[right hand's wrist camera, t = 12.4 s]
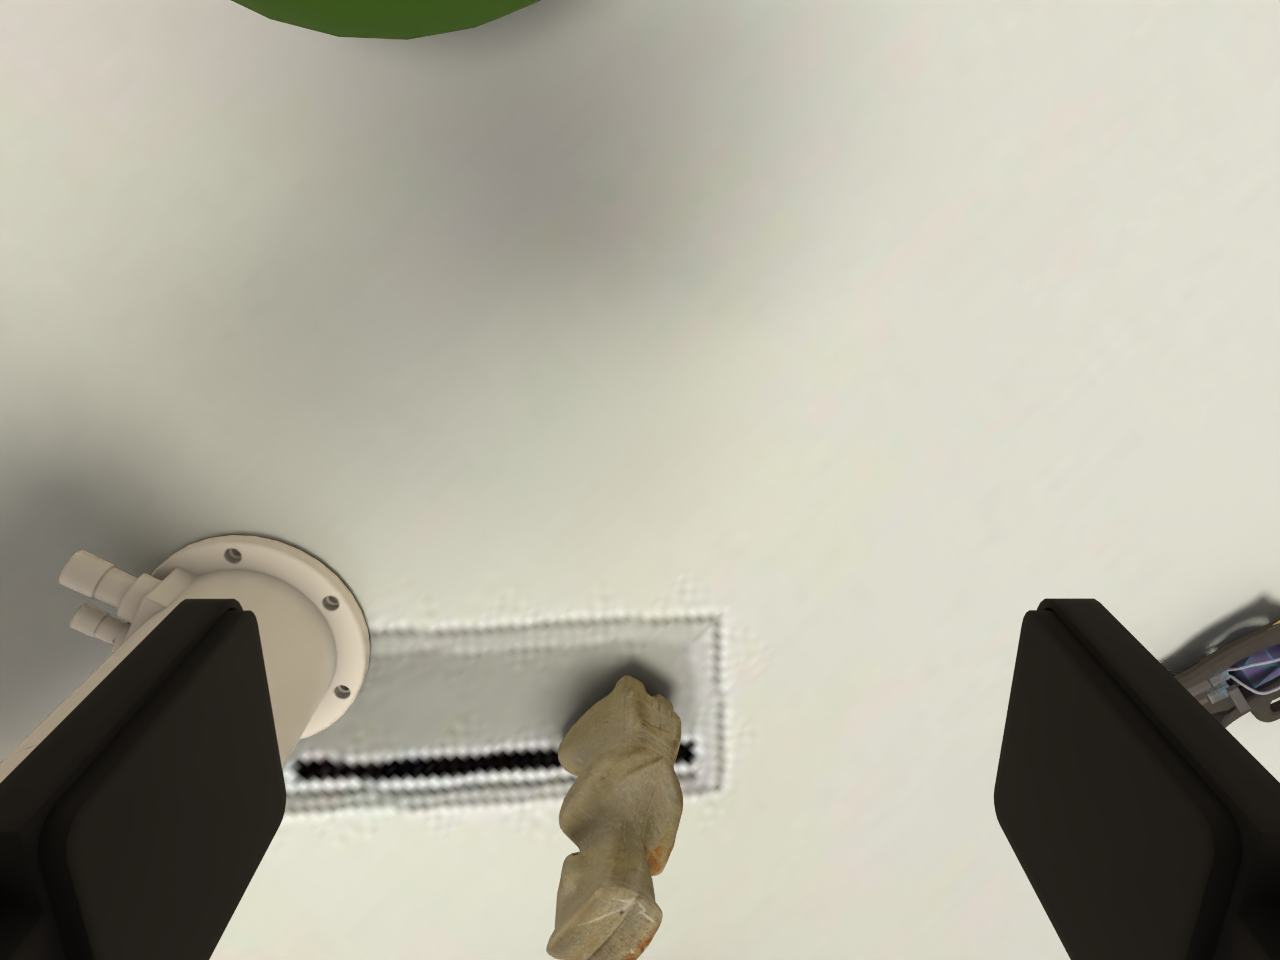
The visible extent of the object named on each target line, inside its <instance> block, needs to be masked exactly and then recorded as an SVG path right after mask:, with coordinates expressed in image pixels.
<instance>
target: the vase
mask: <svg viewBox="0 0 1280 960" xmlns="http://www.w3.org/2000/svg"><path fill="white" fill-rule="evenodd" d="M232 1H234V2H236V3H238V4H240V5H242V6H244V7H246V8H248V9H251V10H253V11H255V12H257V13H259V14H261V15H263V16H265V17H267V18H269V19H272V20H276V21H280V22H284V23H288V24H292V25H296V26H300V27H303V28H307V29H311V30H315V31H319V32H323V33H327V34H331V35H334V36H338V37H360V38H385V39H413V38H418V37H424V36H429V35H435V34H441V33H446V32H452V31H457V30H463V29H468V28H474V27H477V26H479V25H482V24H485V23H487V22H490V21H492V20H495V19H498V18H500V17H502V16H505V15H507V14H509V13H512V12H514V11H516V10H519V9H521V8H524V7H526V6H528V5H531V4H533V3H535V2H538V1H540V0H232Z"/></svg>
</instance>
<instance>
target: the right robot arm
mask: <svg viewBox="0 0 1280 960" xmlns="http://www.w3.org/2000/svg"><path fill="white" fill-rule="evenodd" d="M237 550H238V551H239V552H238V551H237ZM58 583H60V584H62V585H64V586H66V587H68V588H70V589H73V590H75V591H77V592H79V593H81V594H83V595H86V596H88V597H90V598H92V599H95V598H96V599H98V600H101V601H103V602H105V603H107V604H109V605H111V606H114V607H116V608H118V610H117V614H116V615H117V617H119V618H121V619H123V620H125V621H127V622H128V623H125V622H123V621H120V620H118V619H116V618H114V617H112V616H110V615H109V614H108V613H106V612H104V611H102V610H100V609H97V608H95V607H93V606H91V605H89V604H87V603H85V604H83V605H82V606H81V607H80V608H79V609H78V610H77V612H76V613H75V614H74V616H73V618H72V620H71V622H70V625H69V626H70V627H71V628H73V629H75V630H78V631H80V632H82V633H84V634H86V635H89V636H91V637H93V638H95V637H96V638H98V639H101V640H103V641H105V642H107V643H109V644H112V645H113V646H112V652H114V653H113V654H112V655H111V656H110V657H109V658H108V659H107V660H106V661H105V662H104V663H103V664H102V665H101V666H100V667H99V668H98V669H97V670H96V671H95V672H94V673H93V674H92V675H91V676H90V677H89V678H88V679H86V680H85V681H84V682H83V683H82V684H81V685H80V686H79V687H78V688H77V689H76V690H75V691H74V692H73V693H72V694H71V695H70V696H69V697H68V698H67V699H66V700H65V701H64V702H63V703H62V704H61V705H60V706H59V707H58V708H57V709H56V710H55V711H54V712H53V713H52V714H51V715H49V716H48V717H47V718H46V719H45V720H44V721H43V722H42V723H41V724H40V725H39V726H38V727H37V728H36V729H35V730H34V731H33V732H32V733H31V734H30V735H29V736H28V737H27V738H26V739H25V740H24V741H23V742H22V743H21V744H20V745H19V746H18V747H17V748H16V749H15V750H14V751H13V752H11V753H10V754H9V755H8V756H7V757H6V758H5V759H4V760H3V761H2V762H1V763H0V960H209V959H210V957H211V955H212V953H213V951H214V949H215V947H216V946H217V944H218V942H219V940H220V938H221V936H222V934H223V932H224V930H225V928H226V927H227V925H228V923H229V921H230V919H231V917H232V915H233V913H234V911H235V909H236V908H237V906H238V904H239V902H240V900H241V898H242V896H243V894H244V892H245V890H246V889H247V887H248V885H249V883H250V881H251V879H252V877H253V875H254V873H255V871H256V870H257V868H258V866H259V864H260V862H261V860H262V858H263V856H264V854H265V852H266V851H267V849H268V847H269V845H270V843H271V841H272V839H273V837H274V835H275V833H276V832H277V830H278V828H279V826H280V824H281V821H282V819H283V815H284V812H285V805H286V789H285V783H284V777H283V771H282V769H283V767H284V766H285V764H286V762H287V760H288V759H289V757H290V755H291V753H292V752H293V750H294V748H295V746H296V745H297V743H298V741H299V740H300V739H303V738H306V737H310V736H312V735H314V734H316V733H318V732H320V731H322V730H324V729H325V728H327V727H329V726H330V725H331V724H332V723H334V722H335V721H336V720H337V719H339V718H340V717H341V716H342V715H343V714H344V713H345V712H346V710H347V709H348V708H349V707H350V705H351V704H352V703H353V702H354V700H355V698H356V696H357V694H358V692H359V691H360V689H361V687H362V685H363V682H364V679H365V676H366V673H367V670H368V666H369V657H370V643H369V634H368V629H367V626H366V623H365V620H364V617H363V614H362V611H361V609H360V608H359V606H358V604H357V602H356V601H355V599H354V597H353V595H352V594H351V592H350V591H349V590H348V589H347V587H346V586H345V585H344V584H343V583H342V581H341V580H340V579H339V578H338V577H337V576H336V575H335V574H334V573H333V572H331V571H330V570H329V569H328V568H327V567H326V566H324V565H323V564H322V563H321V562H320V561H318V560H316V559H315V558H313V557H311V556H310V555H308V554H306V553H305V552H303V551H301V550H299V549H297V548H294V547H292V546H289V545H287V544H284V543H282V542H279V541H276V540H271V539H266V538H262V537H257V536H244V535H228V536H220V537H213V538H208V539H205V540H202V541H199V542H196V543H193V544H190V545H188V546H186V547H185V548H183V549H181V550H180V551H178V552H176V553H174V554H173V555H171V556H170V557H169V558H168V559H167V560H166V561H164V562H163V563H162V564H161V565H160V566H158V567H157V568H156V569H155V571H154V572H153V573H152V574H151V575H148V574H145V573H144V574H142V575H141V576H139V577H138V578H137V577H134V576H132V575H130V574H128V573H126V572H124V571H122V570H120V569H117V568H116V565H113V564H111V563H109V562H107V561H105V560H103V559H101V558H99V557H96V556H94V555H92V554H90V553H88V552H86V551H84V550H79V551H77V552H76V553H75V554H73V556H72V557H71V558H70V559H69V560H68V561H67V563H66V564H65V566H64V567H63V569H62V571H61V573H60V575H59V578H58ZM332 596H333V597H335V598H336V599H335V598H333V597H332ZM994 805H995V812H996V815H997V819H998V821H999V824H1000V826H1001V828H1002V830H1003V832H1004V833H1005V835H1006V837H1007V839H1008V841H1009V843H1010V845H1011V847H1012V849H1013V851H1014V852H1015V854H1016V856H1017V858H1018V860H1019V862H1020V864H1021V866H1022V868H1023V870H1024V871H1025V873H1026V875H1027V877H1028V879H1029V881H1030V883H1031V885H1032V887H1033V889H1034V890H1035V892H1036V894H1037V896H1038V898H1039V900H1040V902H1041V904H1042V906H1043V908H1044V909H1045V911H1046V913H1047V915H1048V917H1049V919H1050V921H1051V923H1052V925H1053V927H1054V928H1055V930H1056V932H1057V934H1058V936H1059V938H1060V940H1061V942H1062V944H1063V946H1064V947H1065V949H1066V951H1067V953H1068V955H1069V957H1070V959H1071V960H1280V783H1279V782H1278V781H1277V780H1276V779H1275V778H1274V777H1273V776H1272V775H1271V774H1270V773H1269V772H1268V771H1267V770H1266V769H1265V768H1264V767H1263V766H1262V765H1261V764H1260V763H1259V762H1258V761H1257V760H1256V759H1255V758H1254V757H1253V756H1252V755H1251V754H1250V753H1249V752H1248V751H1247V750H1246V749H1245V748H1244V747H1243V746H1242V745H1241V744H1240V743H1239V742H1238V741H1237V740H1236V739H1235V738H1234V737H1233V736H1232V735H1231V734H1230V733H1229V732H1228V731H1227V730H1226V729H1225V728H1224V727H1223V726H1222V725H1221V724H1220V723H1219V722H1218V721H1217V720H1216V719H1215V718H1214V717H1213V716H1212V715H1211V714H1210V713H1209V712H1208V711H1207V710H1206V709H1205V708H1204V707H1203V706H1202V705H1201V704H1200V703H1199V702H1198V701H1197V700H1196V699H1195V698H1194V697H1193V696H1192V695H1191V694H1190V692H1189V691H1188V690H1187V689H1186V688H1185V687H1184V686H1183V685H1182V684H1181V683H1180V682H1179V681H1178V680H1177V679H1176V678H1175V677H1174V676H1173V675H1172V674H1171V673H1170V672H1169V671H1168V670H1167V669H1166V668H1165V667H1164V666H1163V665H1162V664H1161V663H1160V662H1159V661H1158V660H1157V659H1156V658H1155V657H1154V656H1153V655H1152V654H1151V653H1150V652H1149V651H1148V650H1147V649H1146V648H1145V647H1144V646H1143V645H1142V644H1141V643H1140V642H1139V641H1138V640H1137V639H1136V638H1135V637H1134V636H1133V635H1132V634H1131V633H1130V632H1129V631H1128V630H1127V629H1126V628H1125V627H1124V626H1123V625H1122V624H1121V623H1120V622H1119V621H1118V620H1117V619H1116V618H1115V617H1114V616H1113V615H1112V614H1111V613H1110V612H1109V611H1108V610H1107V609H1106V608H1105V607H1104V606H1103V605H1102V604H1101V603H1100V602H1098V601H1097V600H1095V599H1044V600H1043V601H1042V602H1041V603H1040V604H1039V606H1038V608H1037V610H1029V611H1028V612H1027V613H1026V614H1025V616H1024V618H1023V622H1022V627H1021V633H1020V639H1019V645H1018V651H1017V657H1016V663H1015V669H1014V675H1013V681H1012V687H1011V693H1010V699H1009V705H1008V711H1007V717H1006V723H1005V729H1004V735H1003V741H1002V747H1001V753H1000V759H999V765H998V771H997V777H996V783H995V789H994Z"/></svg>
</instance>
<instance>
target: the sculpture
mask: <svg viewBox="0 0 1280 960" xmlns="http://www.w3.org/2000/svg"><path fill="white" fill-rule="evenodd" d="M680 740H681V720H680V718H679V716H678V715H677V714H676V713H675V712H674V711H673V706H672V704H671V703H670V702H669V701H668V700H667V699H666V698H664V697H663V696H662V695H660V694H655V695H653V696H650V695H649V694H648V693H647V692H646V690H645V687H644V685H643V683H642V682H640V681H639V680H637V679H635V678H633V677H631V676H629V675H625V676H623V677H622V678H621V679H620V680H618V681H617V683H616V685H615V688H614V690H613V691H612V692H611V693H610V694H609V695H608V696H606V697H605V698H603V699H601V700H600V701H598V702H597V703H596V704H594V705H593V706H592V707H591V708H590V709H589V710H588V711H587V712H586V713H585V714H584V715H583V716H582V717H581V718H580V719H579V720H578V721H577V722H576V723H575V724H574V725H573V726H572V727H571V729H570V730H569V731H568V733H567V734H566V736H565V737H564V739H563V740H562V742H561V744H560V746H559V750H558V757H559V761H560V763H561V765H562V766H563V768H564V769H565V770H566V771H568V772H570V773H571V774H574V775H576V776H578V779H577V780H576V781H575V783H574V784H573V785H572V787H571V788H570V790H569V791H568V793H567V795H566V797H565V798H564V801H563V804H562V807H561V810H560V814H559V824H560V828H561V829H562V831H563V832H564V834H565V835H566V836H568V837H569V838H570V839H571V840H572V841H573V842H574V843H575V844H576V845H577V846H578V848H579V849H580V852H576V853H572V854H570V855H568V856H567V857H566V859H565V861H564V863H563V867H562V873H561V879H560V884H559V888H558V893H557V905H556V917H555V930H554V932H553V933H552V935H551V937H550V939H549V942H548V945H547V953H548V954H549V955H551V956H552V957H554V958H555V959H560V960H636V959H637V958H638V957H639V956H640V955H641V954H642V953H643V952H644V950H645V949H646V948H647V946H648V945H649V943H650V942H651V940H652V938H653V937H654V935H655V933H656V931H657V930H658V928H659V926H660V923H661V920H662V911H661V909H660V908H659V906H658V905H657V903H656V902H655V894H654V888H653V882H652V878H651V876H656V875H659V874H660V873H661V872H662V871H663V869H664V867H665V865H666V863H667V861H668V858H669V856H670V853H671V851H672V849H673V847H674V843H675V838H676V833H677V830H678V826H679V822H680V818H681V814H682V809H683V796H682V791H681V787H680V783H679V781H678V778H677V776H676V773H675V771H674V768H673V766H674V762H675V760H676V757H677V754H678V750H679V746H680Z"/></svg>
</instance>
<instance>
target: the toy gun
mask: <svg viewBox="0 0 1280 960" xmlns="http://www.w3.org/2000/svg"><path fill="white" fill-rule="evenodd" d="M1174 677H1175V678H1176V679H1177V680H1178V681H1179V682H1180V683H1181V684H1182V685H1183V686H1184V687H1185V688H1186V689H1187V690H1188V691H1189V692H1190V694H1191V695H1192V696H1193V697H1194V698H1195V699H1196V700H1197V701H1198V702H1199V703H1200V704H1201V705H1202V706H1203V707H1204V708H1205V709H1206V710H1207V711H1208V712H1209V713H1210V714H1211V715H1212V716H1213V717H1214V718H1215V719H1216V720H1217V721H1218V722H1219V723H1220V724H1221V725H1222V726H1223V727H1224V728H1226V727H1227V726H1228V725H1229V724H1231V723H1232V722H1233V721H1235V720H1236V719H1238V718H1239V717H1241V716H1243V715H1244V714H1246V713H1248V712H1250V711H1251V713H1252V714H1253V715H1254V716H1255V717H1256V718H1257V719H1258V720H1260V721H1263V722H1272V721H1275V720H1278V719H1280V700H1279V701H1277V702H1274V703H1272V704H1271V701H1272V700H1274V699H1276V698H1278V697H1280V620H1279V621H1275V622H1273V623H1270V624H1268V625H1266V626H1263V627H1261V628H1259V629H1257V630H1255V631H1253V632H1251V633H1249V634H1247V635H1245V636H1243V637H1241V638H1239V639H1237V640H1235V641H1233V642H1231V643H1229V644H1227V645H1225V646H1223V647H1222V648H1220V649H1218V650H1216V651H1215V652H1213V653H1211V654H1210V655H1208V656H1207V657H1205V658H1204V659H1202V660H1201V661H1199V662H1198V663H1197V664H1195V665H1194V666H1192V667H1191V668H1189V669H1188V670H1186V671H1184V672H1181V673H1179V674H1177V675H1175V676H1174ZM1233 682H1235V683H1238V684H1240V686H1239V687H1237V685H1236V684H1234V683H1233Z"/></svg>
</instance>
